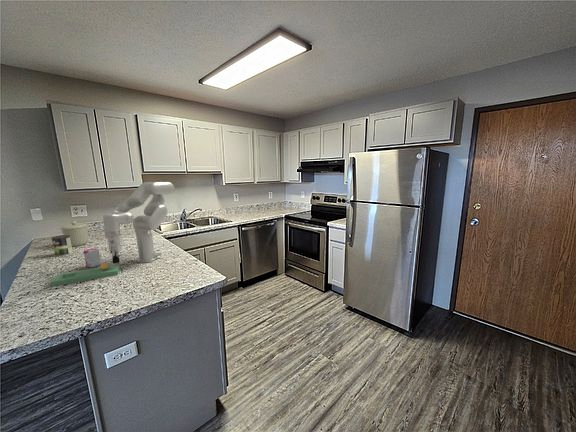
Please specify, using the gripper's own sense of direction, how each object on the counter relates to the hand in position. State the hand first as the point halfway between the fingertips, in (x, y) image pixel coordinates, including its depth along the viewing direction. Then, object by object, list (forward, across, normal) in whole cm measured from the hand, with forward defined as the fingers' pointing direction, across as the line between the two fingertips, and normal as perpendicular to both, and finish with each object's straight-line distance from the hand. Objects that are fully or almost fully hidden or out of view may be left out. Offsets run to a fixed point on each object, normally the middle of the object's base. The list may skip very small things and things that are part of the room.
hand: (116, 262), depth 146 cm
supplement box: (+6, +20, +15) cm, 26 cm away
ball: (+2, +1, +6) cm, 7 cm away
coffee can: (+6, +63, +41) cm, 75 cm away
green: (+6, +1, +14) cm, 16 cm away
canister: (+5, +91, +39) cm, 99 cm away
